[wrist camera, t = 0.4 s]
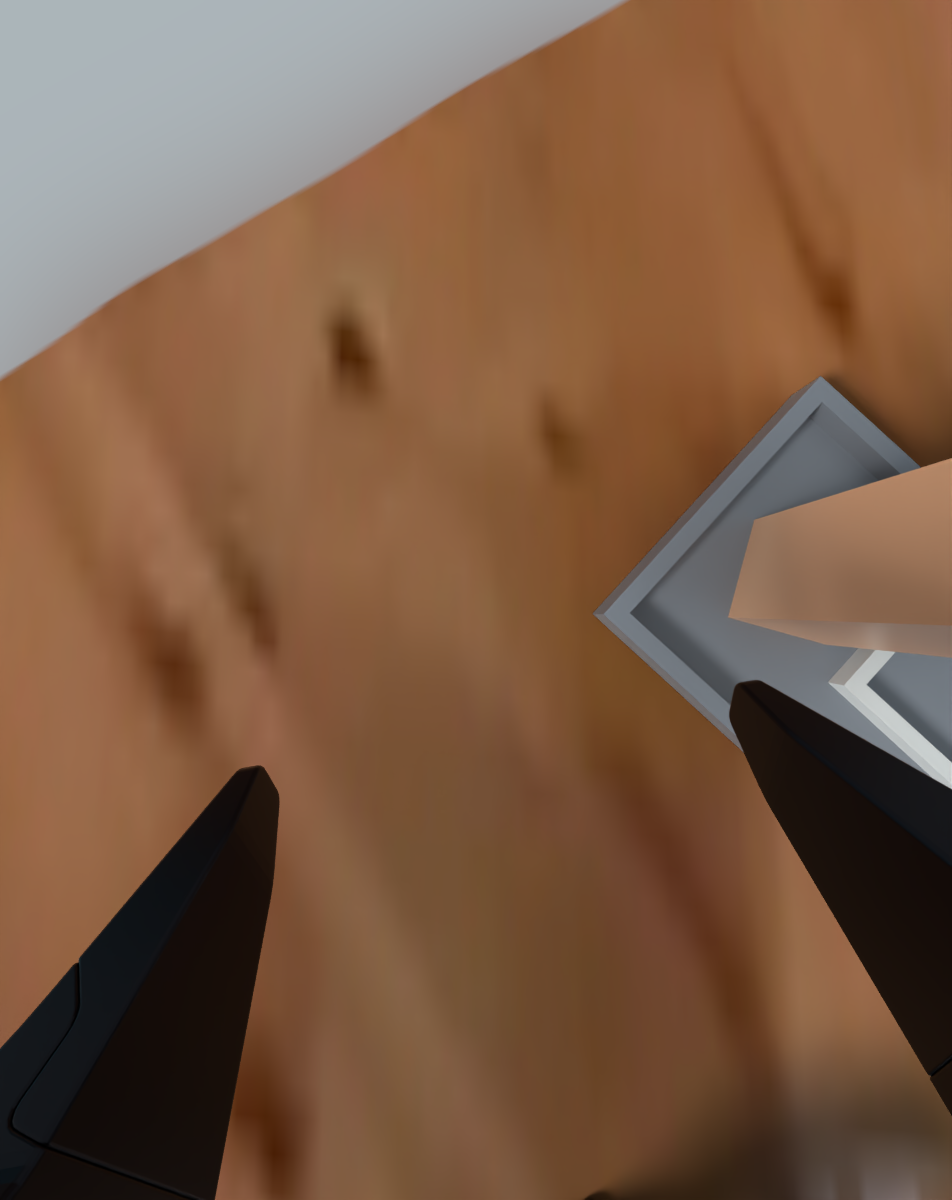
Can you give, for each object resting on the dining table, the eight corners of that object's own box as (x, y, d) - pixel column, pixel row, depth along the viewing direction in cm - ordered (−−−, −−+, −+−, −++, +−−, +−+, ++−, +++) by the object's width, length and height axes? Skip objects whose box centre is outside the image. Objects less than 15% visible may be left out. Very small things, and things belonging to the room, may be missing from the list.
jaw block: (825, 644, 24) (1233, 687, 11) (727, 617, 24) (1024, 628, 11) (851, 547, 24) (1286, 477, 11) (754, 519, 24) (1078, 418, 11)
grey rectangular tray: (1169, 739, 24) (1264, 757, 21) (973, 962, 24) (1041, 1011, 21) (792, 394, 24) (835, 366, 22) (592, 613, 24) (609, 614, 21)
